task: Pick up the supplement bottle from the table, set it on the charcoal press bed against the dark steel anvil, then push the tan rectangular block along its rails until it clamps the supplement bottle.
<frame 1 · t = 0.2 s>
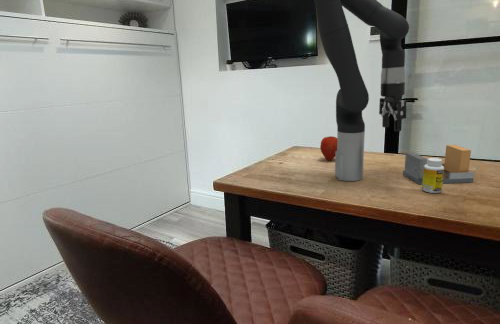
hand: (391, 129, 117), 17 cm above the table, tool pointing down, fingers open, 8 cm apart
apple: (329, 160, 148), on the table
supplement bottle: (431, 191, 106), on the table
press bed: (436, 178, 118), on the table
tan rectangular block: (456, 160, 116), point 6 cm above the table, slide at 0.0 cm
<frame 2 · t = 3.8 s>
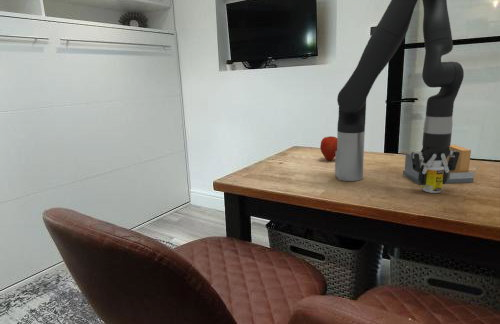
hand: (432, 183, 106), 2 cm above the table, tool pointing down, fingers closed on supplement bottle, 5 cm apart
supplement bottle: (431, 191, 106), on the table, touching gripper
everything else where it was.
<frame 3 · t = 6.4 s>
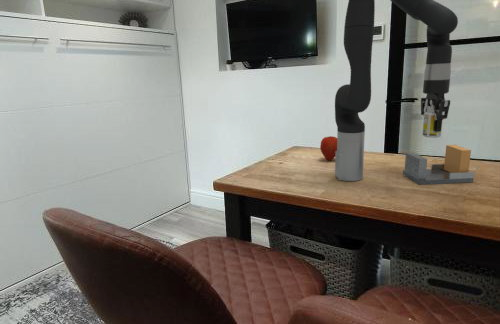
hand: (432, 129, 114), 17 cm above the table, tool pointing down, fingers closed on supplement bottle, 5 cm apart
supplement bottle: (431, 137, 114), point 15 cm above the table, touching gripper
everything else where it was.
when the fingers open (5 cm above the table, at t = 9.2 s): supplement bottle stays where it is, resting on press bed.
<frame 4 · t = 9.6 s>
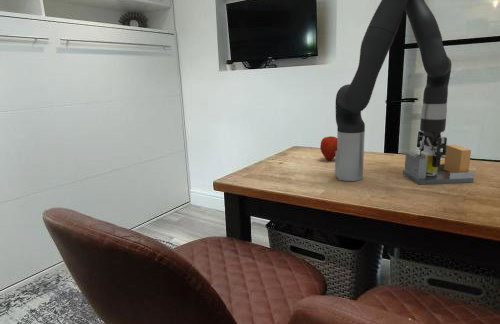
hand: (429, 163, 117), 5 cm above the table, tool pointing down, fingers open, 8 cm apart
supplement bottle: (427, 175, 118), point 1 cm above the table, touching press bed
everything else where it was.
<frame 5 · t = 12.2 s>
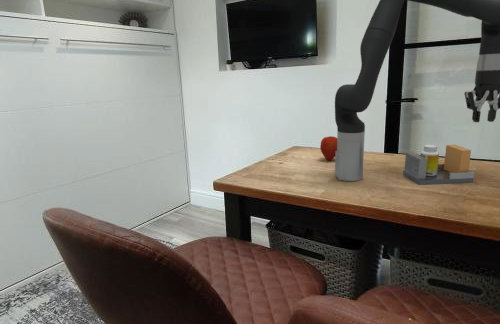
hand: (483, 121, 113), 19 cm above the table, tool pointing down, fingers open, 4 cm apart
nothing on the table moved.
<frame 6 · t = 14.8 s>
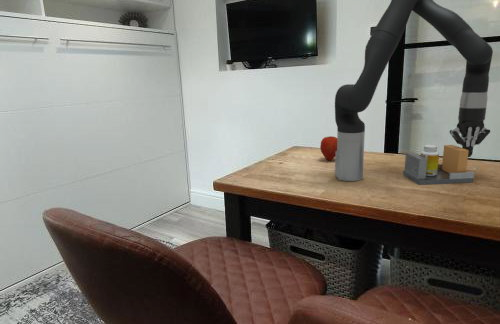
hand: (466, 156, 116), 7 cm above the table, tool pointing down, fingers closed
tan rectangular block: (454, 160, 116), point 6 cm above the table, slide at 0.8 cm, touching gripper
everything else where it was.
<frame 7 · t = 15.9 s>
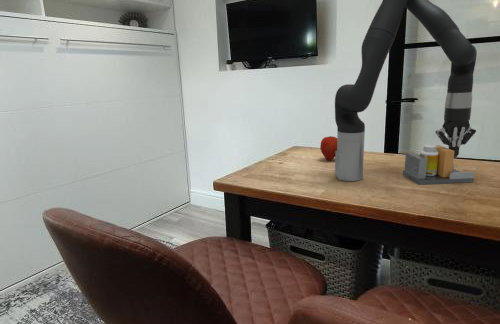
hand: (453, 156, 116), 8 cm above the table, tool pointing down, fingers closed
supplement bottle: (427, 175, 118), point 1 cm above the table, touching press bed, tan rectangular block
tan rectangular block: (441, 160, 116), point 6 cm above the table, slide at 5.4 cm, touching supplement bottle, gripper
everything else where it was.
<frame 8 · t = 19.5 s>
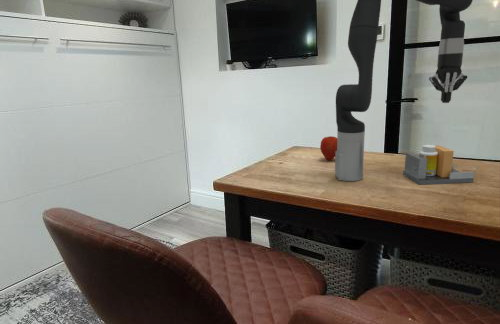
hand: (445, 102, 122), 25 cm above the table, tool pointing down, fingers closed
supplement bottle: (426, 175, 118), point 1 cm above the table, touching press bed
tan rectangular block: (440, 160, 116), point 6 cm above the table, slide at 5.8 cm
everything else where it was.
at the end: tan rectangular block slide at 5.8 cm; supplement bottle 0.5 cm from the target spot on the press bed, point 1.3 cm above the press bed's base; supplement bottle tilted 0° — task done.
